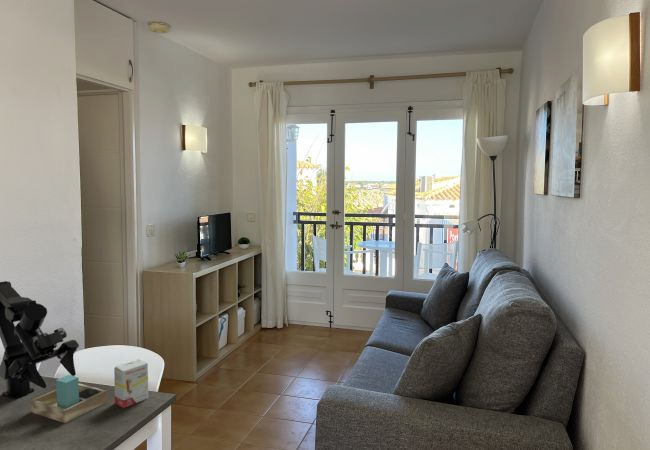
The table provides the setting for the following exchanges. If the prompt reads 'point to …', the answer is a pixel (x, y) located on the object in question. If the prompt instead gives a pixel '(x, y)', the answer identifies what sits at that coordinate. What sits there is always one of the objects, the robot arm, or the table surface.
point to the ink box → (131, 383)
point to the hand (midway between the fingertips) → (60, 381)
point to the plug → (67, 391)
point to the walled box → (87, 402)
